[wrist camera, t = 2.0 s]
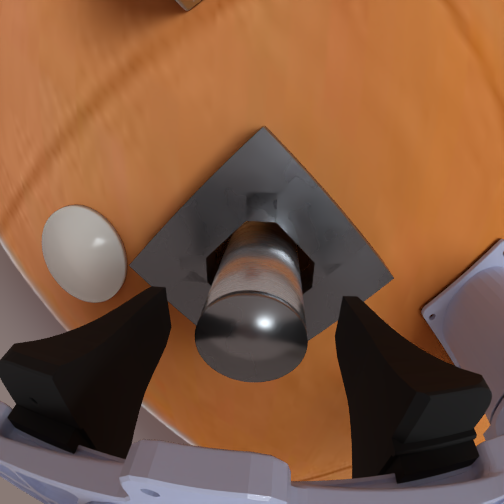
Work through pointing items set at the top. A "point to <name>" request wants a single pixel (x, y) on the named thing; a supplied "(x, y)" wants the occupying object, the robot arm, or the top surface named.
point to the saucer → (84, 253)
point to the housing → (263, 210)
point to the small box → (187, 3)
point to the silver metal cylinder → (255, 307)
